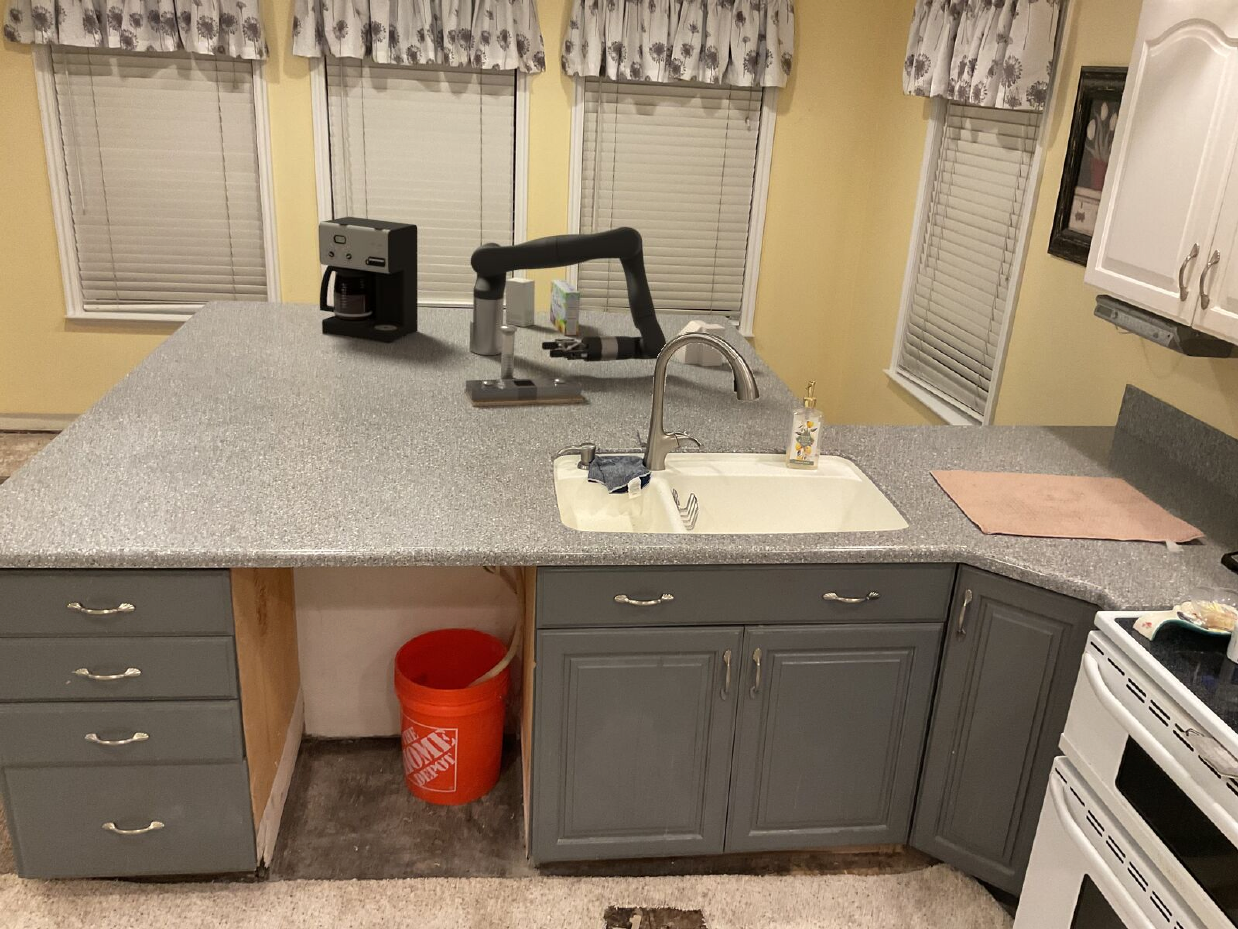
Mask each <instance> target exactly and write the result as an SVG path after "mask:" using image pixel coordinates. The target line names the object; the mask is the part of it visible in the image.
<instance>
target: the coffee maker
mask: <svg viewBox="0 0 1238 929" xmlns="http://www.w3.org/2000/svg"><path fill="white" fill-rule="evenodd" d="M318 247H319V263H320V264H321V265H323V266H326V269H325V271H324V273H323V275H322V278H321V283H320V289H319V291H320V292H319V311H322V312H329V313H333V314H334V315H332V316H329V317H327V318H324V319H322V321H321V332H322V334H326V335H332V336H333V335H334V336H339V337H346V338H352V339H358V340H366V341H371V342H378V343H385V344H391V343H394V342H396V341H399V340H401V339H403V338H405V337H407V336H410V335H413V334H415V333H416V332H418V329H419V328H418V327H419V326H418V325H419V324H418V320H419V319H418V313H419V312H418V300H419V299H418V225H416V224H413V223H412V224H411V223H405V222H396V221H388V220H381V219H380V220H379V219H373V218H372V219H371V218H363V217H354V216H345V217H339V218H334V219H330V220H325V221H321V222H320V223H319V225H318ZM333 272H334V273H335V272H336V274H335V277H334V282H333V295H332V296H333V305H328V294H329V293H328V291H329V285H330V284H329V283H330V280H331V275H332V273H333Z"/></svg>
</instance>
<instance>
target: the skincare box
mask: <svg viewBox="0 0 1238 929" xmlns="http://www.w3.org/2000/svg"><path fill="white" fill-rule="evenodd" d="M535 282H536V281H535V280H533V279H530V278H529V279H528V278H521V277H517V276H515V277H512V278H509V279H508V278H506V286H505V325H514V326H517V327H523V328H526V327H530V326H533V325H535V301H536V300H535V298H536V297H535V293H536V292H535V289H536V288H535V287H536V285H535V284H536V283H535Z"/></svg>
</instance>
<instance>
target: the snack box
mask: <svg viewBox="0 0 1238 929" xmlns="http://www.w3.org/2000/svg"><path fill="white" fill-rule="evenodd" d="M580 294H581V292H580V291H578V290H577V289H576V288H575V287H574V286H573V285H571V283H569V282H568V281H567V280H566V279H562V278H561V279H551V280H550V309H549V310H550V312H549V314H550V317H549V318H550V319H549V321H550V322H551V323H552V324H553V325H554V327H556V329H557V330H558V331H559V332H560V334H561V335H562V336H564V337H567V336H568V337H569V336H579V320H580V318H579V316H580V296H581V295H580Z"/></svg>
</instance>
